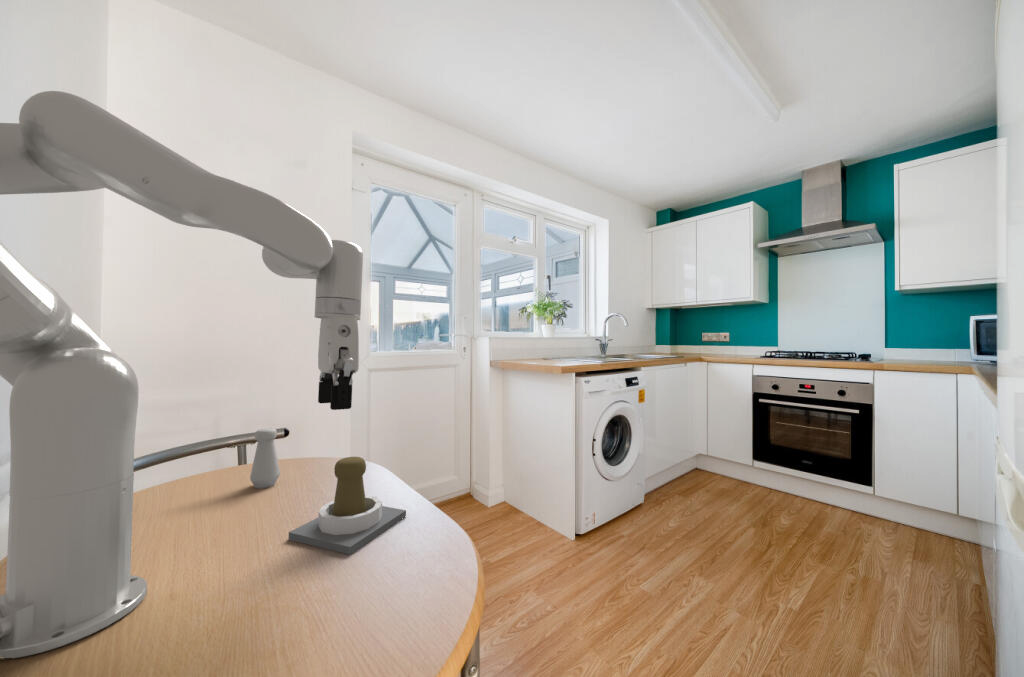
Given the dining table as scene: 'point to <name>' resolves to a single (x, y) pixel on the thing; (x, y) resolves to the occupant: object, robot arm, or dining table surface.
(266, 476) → the salt shaker
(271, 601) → the dining table surface
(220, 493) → the dining table surface
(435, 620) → the dining table surface
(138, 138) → the robot arm
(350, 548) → the mat
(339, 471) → the cork
